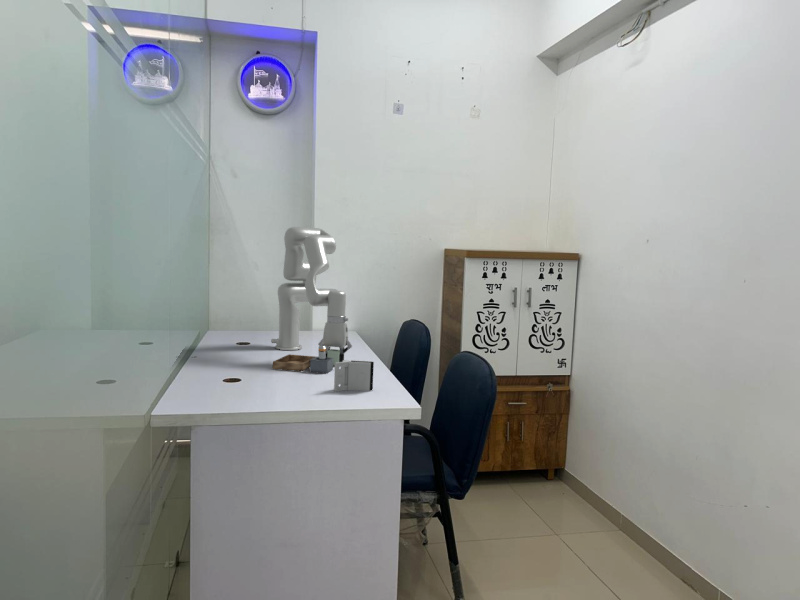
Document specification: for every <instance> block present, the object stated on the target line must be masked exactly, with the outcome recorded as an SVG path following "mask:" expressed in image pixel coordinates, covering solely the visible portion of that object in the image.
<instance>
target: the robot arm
mask: <svg viewBox="0 0 800 600" xmlns="http://www.w3.org/2000/svg"><path fill="white" fill-rule="evenodd" d="M283 239H284V246H285V248H284V250H285V253H284V261H283V277H284V279H285V280H287V281H293V282H284V283H281V284H280V285H279V287H278V289H277V297H278V305H279V306H278V308H279V311H278V313H279V314H278V317H279V318H278V319H279V320H278V321H279V322H278V338H277V339H276V338H271V339H270V342H271V344H275V347H274V348H275V349H276V350H279V349H280V351H298V349H299V350H301V349H303V346H302V344H300V310H299V307H298V306H297V305H296V303H309V305H311V306H312V307H327V311H326V312H327V313H326V315H327V316H326V322H325V324H324V328H323V329H324V330H323V334H322V335H323V337H322V339H321V340H320V341H319V342H318V347H319V346H326V357H327V352H328V350H330V349H331V347H332V348H333V347H334V348H339V350H340V352H341V353H340V356H339V362H342V361H343V360H345V353H346V352H348V350H350V349H352V348H353V345H352V343H351V342H350V341H349V331H348V330H349V329H348V323H347V322H349V318H348V317H347V316H346V305H347V304H346V303H347V302H346V301H347V295H346V292H345V291H344V290H338V289H336V288H317V287H316V281H317V276H318V275H321V274H323V273H324V272H326V271H327V270H328V269H329V268H330V263H329V259H328V255H332V254H334V253H335V252H336V249H337V245H336V244H337V242H336V241H335V238H334V237H333V236H332V235H331V234H329V233H328V232H327V231H325V230H323V228H319V227H307V226H306V227H305V226H292V227H289V228H288V229H286V231H285V233H284V238H283ZM302 246H304V249H305V252H304V249H303V248H302ZM305 253H306V254H305ZM304 254H305V255H306V257H307V260H304ZM294 281H295V282H294ZM297 281H299V282H297ZM301 281H302V282H301Z"/></svg>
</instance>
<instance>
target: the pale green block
mask: <svg viewBox="0 0 800 600" xmlns="http://www.w3.org/2000/svg"><path fill="white" fill-rule="evenodd" d="M340 353H341V352H340V348H339V349H336V348H330V350H328V352H327V357H328V358H333V367H335V363H337V362H339V356H340Z"/></svg>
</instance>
